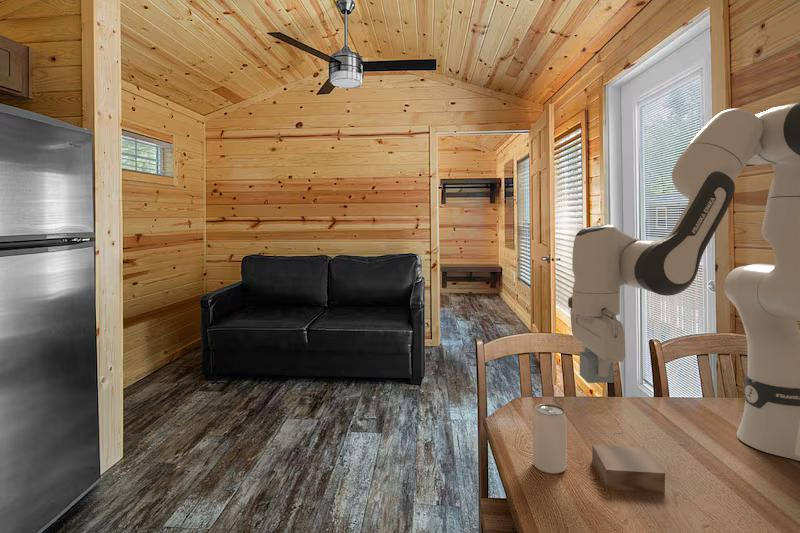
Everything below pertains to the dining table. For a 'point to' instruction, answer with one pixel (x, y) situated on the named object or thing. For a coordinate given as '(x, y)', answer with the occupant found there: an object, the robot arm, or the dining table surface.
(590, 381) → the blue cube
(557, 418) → the can
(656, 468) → the walnut block
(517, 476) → the dining table surface
